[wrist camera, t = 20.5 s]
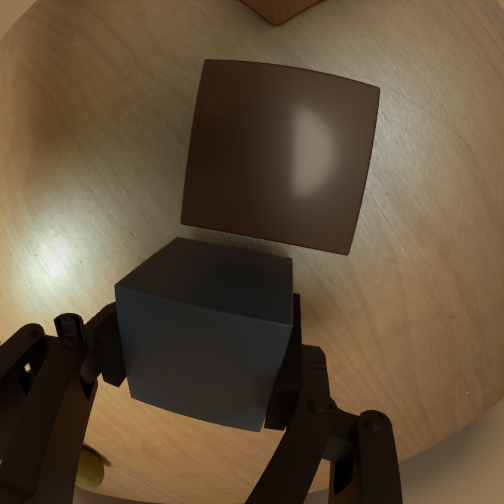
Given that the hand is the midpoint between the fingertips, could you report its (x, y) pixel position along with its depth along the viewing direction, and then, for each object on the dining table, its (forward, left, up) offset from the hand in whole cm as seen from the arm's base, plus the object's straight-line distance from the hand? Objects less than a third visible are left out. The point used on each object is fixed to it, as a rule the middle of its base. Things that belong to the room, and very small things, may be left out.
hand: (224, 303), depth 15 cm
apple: (+39, -21, -2) cm, 44 cm away
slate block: (0, 0, 0) cm, 0 cm away
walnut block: (-8, +2, -2) cm, 8 cm away
